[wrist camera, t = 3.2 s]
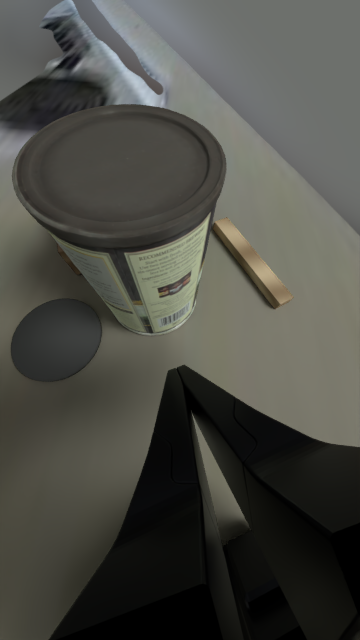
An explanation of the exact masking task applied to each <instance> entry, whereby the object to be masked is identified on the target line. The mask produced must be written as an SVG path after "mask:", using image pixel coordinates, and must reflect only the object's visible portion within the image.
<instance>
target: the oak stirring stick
mask: <svg viewBox="0 0 360 640" xmlns="http://www.w3.org/2000/svg"><path fill="white" fill-rule="evenodd" d="M213 230H214V231H215V232H216V234H217V235H218V236H219V238H220V239H221V240H222V241H223V243H224V244H225V245H226V247H227V248H228V249H229V251H230V252H231V253H232V254H233V256H234V257H235V258H236V260H237V261H238V262H239V263H240V265H241V266H242V267H243V269H244V270H245V271H246V273H247V274H248V275H249V276H250V278H251V279H252V280H253V282H254V283H255V284H256V285H257V287H258V288H259V289H260V291H261V292H262V293H263V294H264V296H265V297H266V298H267V300H268V301H269V302H270V304H271V305H272V306H273V307H274V309H276V308H278V307H280V306H282V305H284V304H286V303H288V302H289V301H290V300H292V299H293V298H294V297H293V295H292V294H291V293H290V292H289V291H288V290H287V288H286V287H285V286H284V285H283V284H282V282H281V281H280V280H279V279H278V278H277V276H276V275H275V274H274V273H273V272H272V270H271V269H270V268H269V267H268V266H267V264H266V263H265V262H264V261H263V260H262V258H261V257H260V256H259V255H258V254H257V252H256V251H255V250H254V249H253V248H252V246H251V245H250V244H249V243H248V242H247V240H246V239H245V238H244V237H243V236H242V234H241V233H240V232H239V231H238V230H237V229H236V227H235V226H234V225H233V224H232V223H231V221H230V220H229V219H228V218H227V217H226V218H224V219H221V220H218V221H216V222H215V223H214V227H213Z"/></svg>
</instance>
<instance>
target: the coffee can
mask: <svg viewBox="0 0 360 640" xmlns="http://www.w3.org/2000/svg"><path fill="white" fill-rule="evenodd" d="M225 175H226V158H225V154H224V152H223V150H222V147H221V145H220V144H219V142H218V141H217V139H216V138H215V137H214V136H213V135H212V134H211V133H210V131H209V130H207V129H206V128H205V127H204V126H202V125H201V124H199V123H198V122H196V121H194V120H193V119H191V118H189V117H187V116H185V115H182V114H179V113H177V112H174V111H171V110H168V109H164V108H160V107H153V106H146V105H136V104H131V105H128V104H122V105H108V106H101V107H95V108H90V109H86V110H82V111H79V112H76V113H73V114H70V115H68V116H65V117H63V118H60V119H58V120H56V121H54V122H52V123H51V124H49V125H47V126H46V127H44V128H43V129H41V130H40V131H38V132H37V133H36V134H35V135H34V136H32V137H31V138H30V139H29V140H28V141H27V142H26V144H25V145H24V146H23V147H22V149H21V150H20V152H19V153H18V156H17V157H16V159H15V163H14V167H13V172H12V181H13V186H14V190H15V192H16V195H17V197H18V199H19V200H20V202H21V203H22V205H23V206H24V207H25V208H26V210H27V211H28V212H29V213H30V214H31V215H32V216H33V217H34V218H35V219H36V220H37V221H38V223H40V224H41V225H42V226H43V227H45V228H46V229H47V231H48V232H49V233H50V234H51V236H52V237H53V238H54V239H55V241H56V242H57V243H58V244H59V246H60V247H61V248H62V249H63V251H64V252H65V253H66V254H67V256H68V257H69V258H70V259H71V261H72V262H73V263H74V265H75V266H76V267H77V268H78V269H79V271H80V272H81V273H82V274H83V276H84V277H85V278H86V279H87V281H88V282H89V283H90V285H91V286H92V287H93V288H94V290H95V291H96V292H97V293H98V295H99V296H100V297H101V298H102V300H103V301H104V302H105V303H106V305H107V306H108V307H109V308H110V310H111V311H112V312H113V314H114V315H115V317H116V319H117V320H118V321H119V322H120V323H121V324H122V325H123V326H124V327H126V328H127V329H128V330H130V331H133V332H135V333H138V334H141V335H148V336H156V335H162V334H166V333H169V332H171V331H173V330H175V329H177V328H178V327H180V326H181V325H182V324H184V323H185V322H186V321H187V319H188V318H189V317H190V316H191V314H192V312H193V310H194V307H195V304H196V296H197V292H198V287H199V282H200V277H201V273H202V268H203V263H204V258H205V254H206V250H207V245H208V240H209V235H210V231H211V226H212V221H213V217H214V212H215V207H216V202H217V199H218V197H219V196H220V193H221V190H222V187H223V184H224V180H225Z"/></svg>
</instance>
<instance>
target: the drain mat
mask: <svg viewBox="0 0 360 640" xmlns="http://www.w3.org/2000/svg"><path fill="white" fill-rule="evenodd" d="M101 335H102V329H101V323H100V320H99V318H98V316H97V314H96V313H95V312H94V311H93V309H92V308H90V307H89V306H88V305H87V304H85V303H83V302H81V301H78V300H74V299H57V300H52V301H49V302H46V303H44V304H42V305H40V306H38V307H37V308H35V309H34V310H32V311H31V312H30V313H29V314H28V315H27V316H26V317H25V318H24V319H23V320H22V321H21V322H20V324H19V326H18V327H17V329H16V331H15V333H14V336H13V339H12V343H11V355H12V359H13V362H14V364H15V366H16V367H17V369H18V370H19V371H20V372H21V373H22V374H24V375H25V376H27V377H29V378H31V379H34V380H38V381H58V380H62V379H65V378H68V377H70V376H72V375H74V374H76V373H77V372H79V371H80V370H81V369H83V368H84V367H85V366H86V365H87V364H88V363H89V362H90V361H91V359H92V358H93V357H94V355H95V353H96V352H97V349H98V347H99V344H100V341H101Z"/></svg>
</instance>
